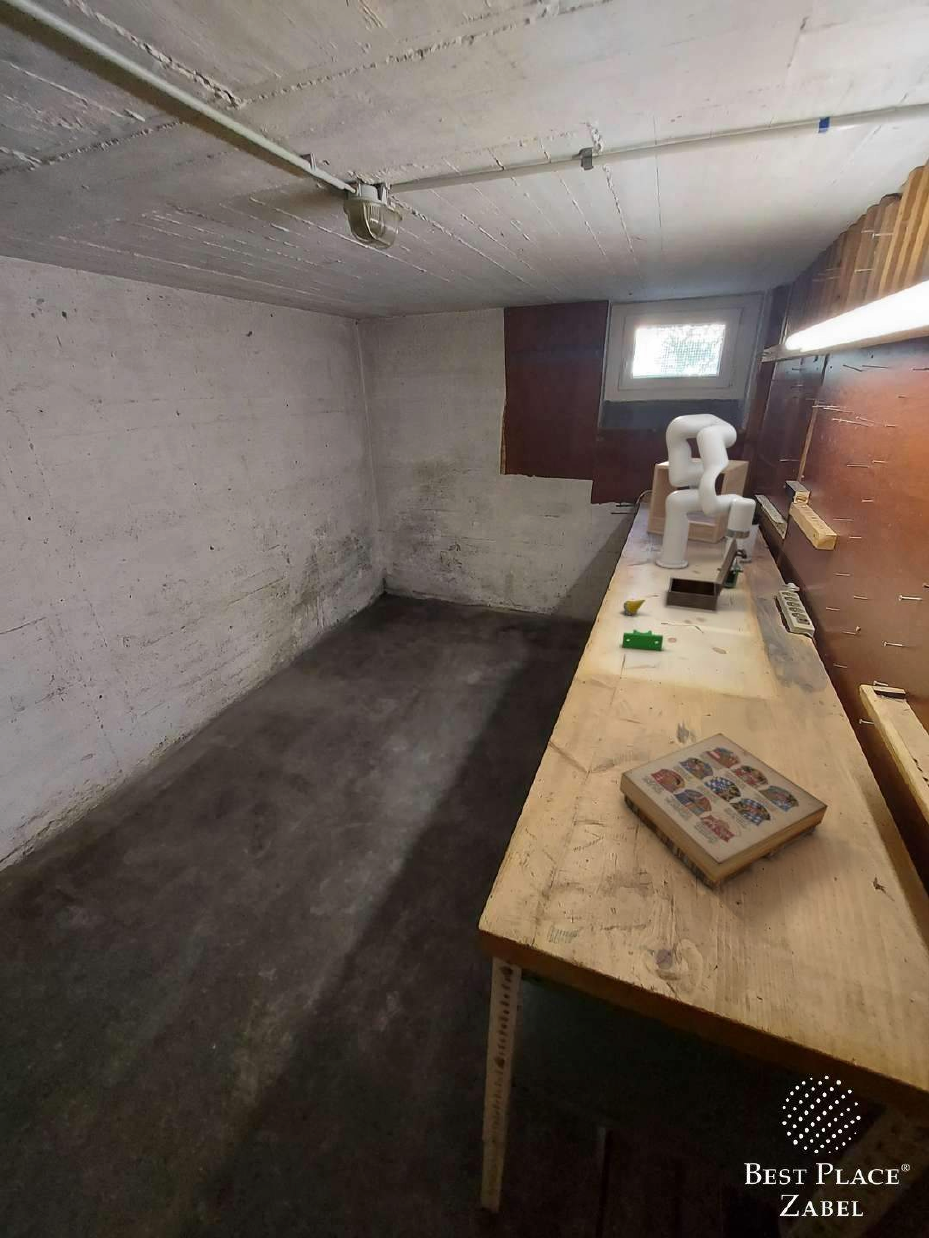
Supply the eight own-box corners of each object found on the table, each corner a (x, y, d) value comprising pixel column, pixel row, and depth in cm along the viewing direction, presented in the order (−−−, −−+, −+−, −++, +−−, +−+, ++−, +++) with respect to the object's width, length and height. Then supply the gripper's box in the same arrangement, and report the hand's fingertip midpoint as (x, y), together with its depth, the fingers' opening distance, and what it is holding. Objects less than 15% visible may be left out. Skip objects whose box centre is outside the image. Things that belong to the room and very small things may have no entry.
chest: (665, 606, 172) (668, 591, 169) (668, 591, 183) (670, 577, 181) (714, 612, 165) (717, 597, 163) (713, 596, 177) (716, 582, 175)
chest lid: (735, 550, 155) (751, 554, 153) (733, 538, 167) (748, 541, 165) (716, 595, 163) (731, 599, 161) (715, 580, 175) (729, 584, 173)
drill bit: (629, 610, 171) (651, 597, 164) (628, 622, 168) (650, 609, 160) (618, 602, 170) (639, 589, 162) (616, 614, 167) (639, 601, 159)
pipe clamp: (659, 644, 148) (662, 631, 146) (661, 650, 145) (663, 637, 143) (621, 641, 150) (623, 628, 148) (622, 647, 147) (623, 633, 145)
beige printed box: (709, 745, 107) (608, 787, 97) (715, 722, 104) (611, 763, 94) (824, 828, 86) (711, 892, 76) (834, 802, 84) (719, 865, 74)
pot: (714, 585, 183) (717, 568, 180) (714, 579, 188) (717, 562, 185) (741, 588, 179) (744, 570, 176) (740, 582, 185) (743, 565, 182)
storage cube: (735, 529, 252) (749, 461, 237) (715, 543, 233) (729, 470, 218) (669, 520, 273) (678, 457, 258) (647, 532, 255) (655, 464, 240)
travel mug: (753, 563, 206) (763, 517, 198) (736, 563, 208) (746, 517, 199) (748, 558, 212) (758, 513, 203) (732, 558, 213) (741, 513, 205)
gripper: (725, 526, 184) (716, 571, 191) (726, 539, 170) (717, 586, 177) (747, 528, 181) (738, 573, 189) (751, 540, 167) (740, 589, 175)
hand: (728, 579), depth 183 cm, fingers closed on pot, 6 cm apart
